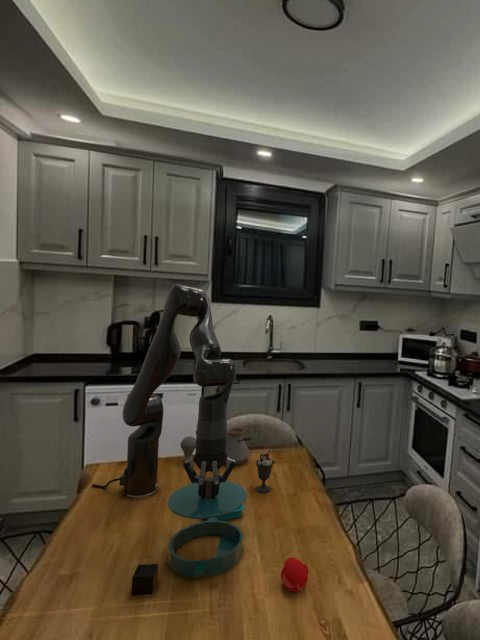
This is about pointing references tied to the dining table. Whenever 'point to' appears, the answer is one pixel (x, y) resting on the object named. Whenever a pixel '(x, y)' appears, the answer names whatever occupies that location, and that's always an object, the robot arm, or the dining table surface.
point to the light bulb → (188, 446)
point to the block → (144, 579)
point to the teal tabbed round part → (226, 551)
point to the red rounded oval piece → (294, 574)
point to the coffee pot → (237, 445)
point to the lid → (207, 500)
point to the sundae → (264, 471)
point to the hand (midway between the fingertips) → (208, 496)
